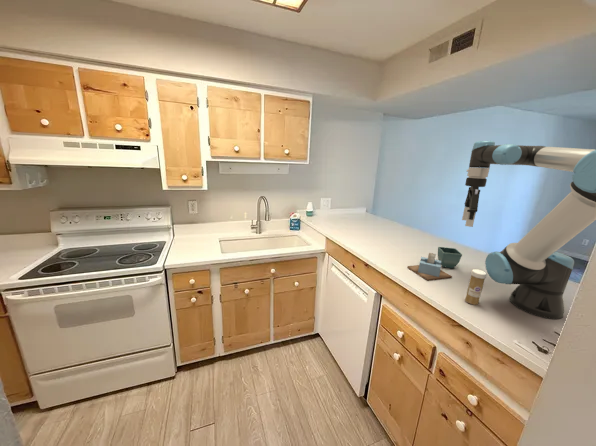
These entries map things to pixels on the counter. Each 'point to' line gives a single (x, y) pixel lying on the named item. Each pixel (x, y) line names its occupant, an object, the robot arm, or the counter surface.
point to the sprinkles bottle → (475, 286)
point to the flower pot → (449, 256)
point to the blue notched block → (429, 267)
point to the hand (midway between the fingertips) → (466, 223)
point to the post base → (425, 276)
